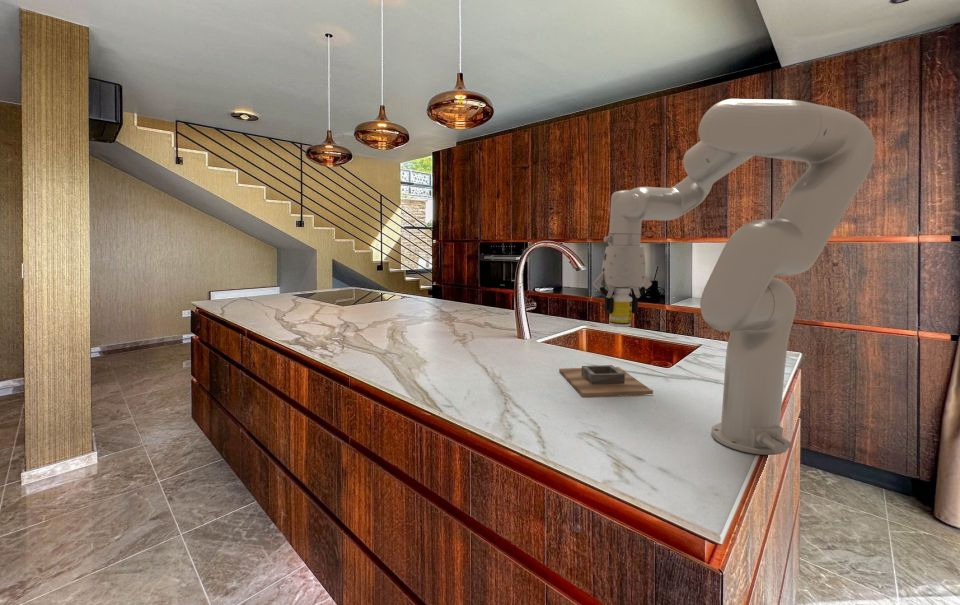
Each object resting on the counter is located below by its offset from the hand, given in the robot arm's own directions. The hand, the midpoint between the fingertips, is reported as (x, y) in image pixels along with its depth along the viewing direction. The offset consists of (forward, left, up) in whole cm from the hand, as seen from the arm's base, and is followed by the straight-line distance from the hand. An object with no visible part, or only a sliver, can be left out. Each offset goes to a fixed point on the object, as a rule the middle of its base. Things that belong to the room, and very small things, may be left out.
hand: (620, 311), depth 115 cm
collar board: (+5, +2, -20) cm, 21 cm away
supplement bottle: (0, 0, -4) cm, 4 cm away
